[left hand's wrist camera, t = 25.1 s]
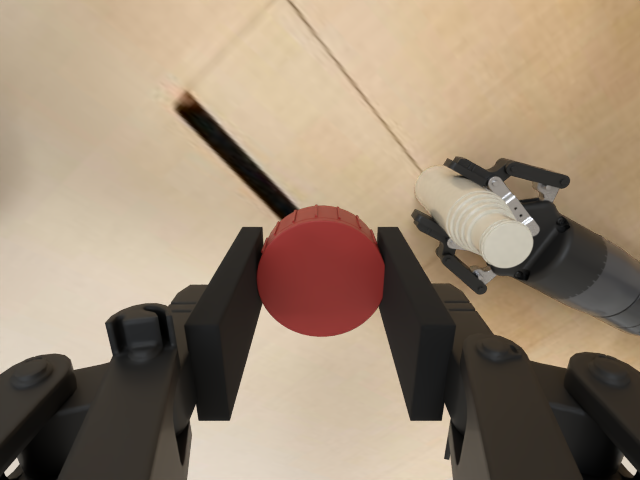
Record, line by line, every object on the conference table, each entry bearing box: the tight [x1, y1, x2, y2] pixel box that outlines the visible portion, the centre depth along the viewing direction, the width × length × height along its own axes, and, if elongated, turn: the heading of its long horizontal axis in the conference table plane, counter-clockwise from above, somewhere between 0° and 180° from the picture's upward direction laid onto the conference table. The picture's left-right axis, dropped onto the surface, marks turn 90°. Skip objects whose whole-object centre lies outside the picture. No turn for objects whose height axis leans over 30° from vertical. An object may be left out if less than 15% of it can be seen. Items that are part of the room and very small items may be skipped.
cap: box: [257, 205, 385, 337], centre depth 14 cm, size 4×5×2 cm
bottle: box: [415, 165, 533, 268], centre depth 33 cm, size 5×5×18 cm
